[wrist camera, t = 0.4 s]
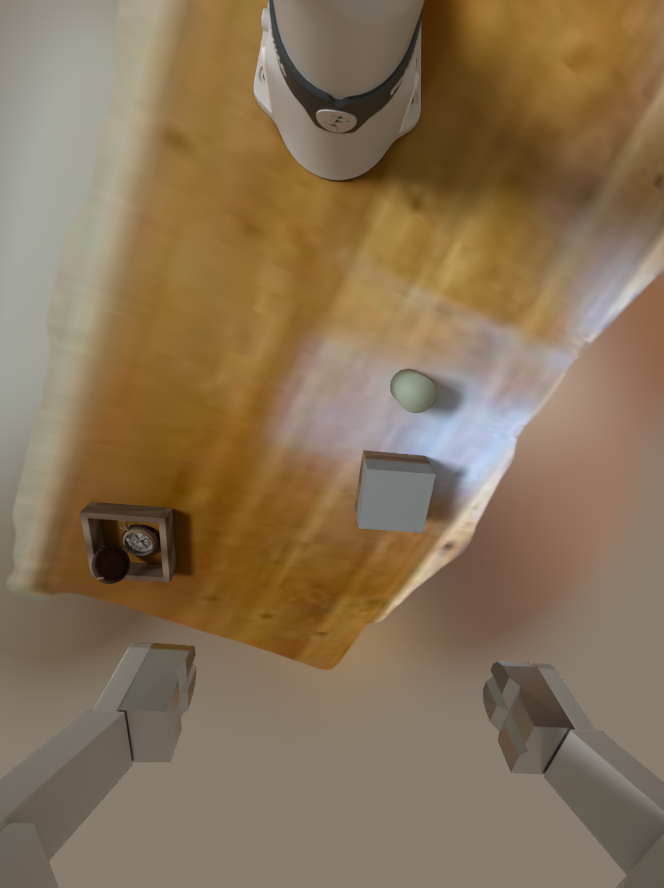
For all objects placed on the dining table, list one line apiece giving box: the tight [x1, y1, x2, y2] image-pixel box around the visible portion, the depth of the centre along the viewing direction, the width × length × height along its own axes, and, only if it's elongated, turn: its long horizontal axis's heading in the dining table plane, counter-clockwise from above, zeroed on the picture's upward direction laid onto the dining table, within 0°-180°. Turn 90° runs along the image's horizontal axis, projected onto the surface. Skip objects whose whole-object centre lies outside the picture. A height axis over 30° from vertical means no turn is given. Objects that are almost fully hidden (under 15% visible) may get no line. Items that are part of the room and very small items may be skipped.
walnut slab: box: [355, 450, 430, 513], centre depth 56 cm, size 10×10×4 cm
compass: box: [92, 521, 160, 584], centre depth 56 cm, size 8×8×7 cm
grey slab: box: [356, 459, 436, 533], centre depth 53 cm, size 10×10×4 cm
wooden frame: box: [80, 502, 176, 582], centre depth 58 cm, size 13×13×3 cm
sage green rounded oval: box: [390, 369, 436, 413], centre depth 49 cm, size 5×5×6 cm
